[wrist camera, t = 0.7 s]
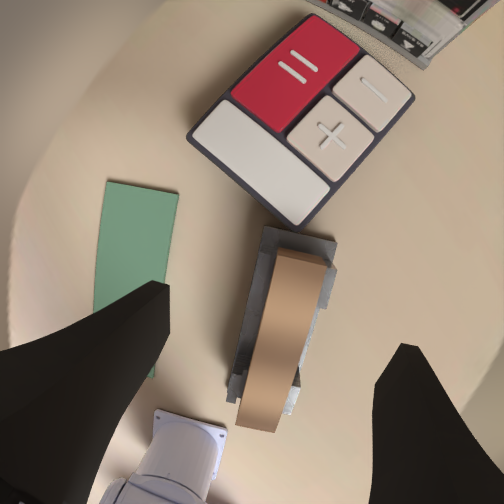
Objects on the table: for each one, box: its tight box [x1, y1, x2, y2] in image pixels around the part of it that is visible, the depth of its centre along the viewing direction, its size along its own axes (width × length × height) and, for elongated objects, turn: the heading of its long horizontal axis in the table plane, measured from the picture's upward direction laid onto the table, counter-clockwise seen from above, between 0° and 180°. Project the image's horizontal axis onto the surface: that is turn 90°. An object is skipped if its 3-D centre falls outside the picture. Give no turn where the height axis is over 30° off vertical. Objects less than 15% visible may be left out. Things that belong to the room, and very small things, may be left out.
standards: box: [226, 225, 337, 415], centre depth 26 cm, size 16×6×4 cm, turn 168°
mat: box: [93, 182, 179, 378], centre depth 28 cm, size 18×7×1 cm, turn 168°
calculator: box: [186, 13, 415, 233], centre depth 23 cm, size 11×4×15 cm
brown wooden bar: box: [235, 247, 327, 433], centre depth 23 cm, size 14×3×3 cm, turn 168°
